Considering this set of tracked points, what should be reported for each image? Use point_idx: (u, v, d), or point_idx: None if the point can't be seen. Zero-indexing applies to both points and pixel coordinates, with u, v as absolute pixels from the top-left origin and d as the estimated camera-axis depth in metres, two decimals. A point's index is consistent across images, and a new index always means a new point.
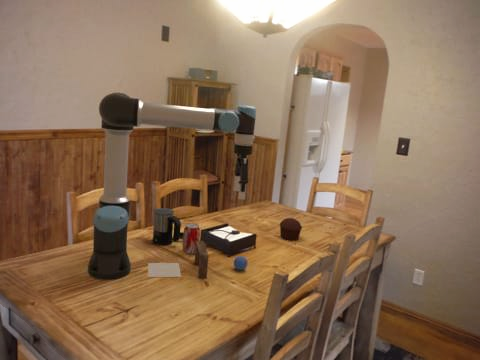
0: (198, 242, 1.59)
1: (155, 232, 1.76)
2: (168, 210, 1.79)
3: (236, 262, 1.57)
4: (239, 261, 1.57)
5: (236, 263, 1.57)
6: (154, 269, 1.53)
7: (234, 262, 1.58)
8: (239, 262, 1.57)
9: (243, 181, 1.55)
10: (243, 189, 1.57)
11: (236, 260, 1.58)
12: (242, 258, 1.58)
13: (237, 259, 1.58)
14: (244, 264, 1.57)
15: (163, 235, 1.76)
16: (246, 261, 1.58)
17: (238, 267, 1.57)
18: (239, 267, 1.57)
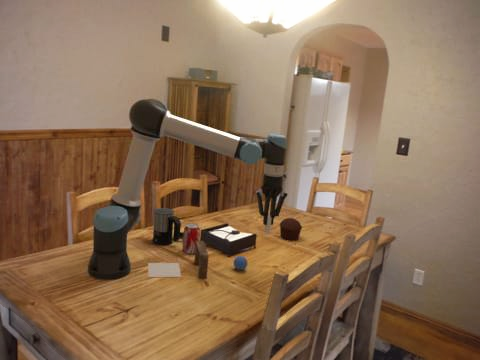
0: (198, 242, 1.59)
1: (155, 232, 1.76)
2: (168, 210, 1.79)
3: (236, 262, 1.57)
4: (239, 261, 1.57)
5: (236, 263, 1.57)
6: (154, 269, 1.53)
7: (234, 262, 1.58)
8: (239, 262, 1.57)
9: (260, 212, 1.57)
10: (263, 222, 1.57)
11: (236, 260, 1.58)
12: (242, 258, 1.58)
13: (237, 259, 1.58)
14: (244, 264, 1.57)
15: (163, 235, 1.76)
16: (246, 261, 1.58)
17: (238, 267, 1.57)
18: (239, 267, 1.57)
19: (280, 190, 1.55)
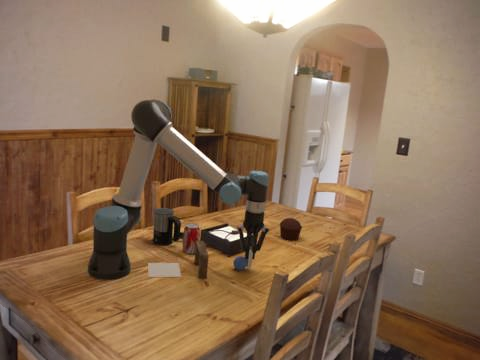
0: (198, 242, 1.59)
1: (155, 232, 1.76)
2: (168, 210, 1.79)
3: (236, 262, 1.57)
4: (238, 261, 1.57)
5: (236, 263, 1.57)
6: (154, 269, 1.53)
7: (234, 262, 1.58)
8: (238, 262, 1.57)
9: (241, 247, 1.59)
10: (245, 256, 1.59)
11: (236, 260, 1.58)
12: (242, 258, 1.58)
13: (237, 259, 1.58)
14: (244, 264, 1.57)
15: (163, 235, 1.76)
16: (246, 261, 1.58)
17: (238, 267, 1.57)
18: (239, 267, 1.57)
19: (261, 226, 1.57)
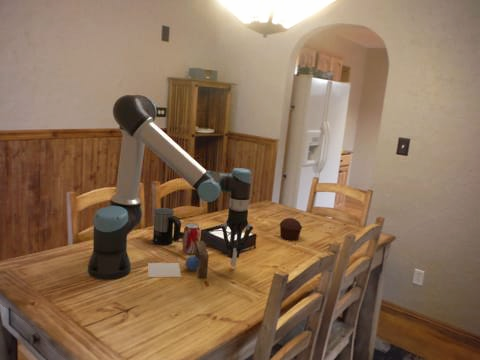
0: (198, 242, 1.59)
1: (155, 232, 1.76)
2: (168, 210, 1.79)
3: (187, 263, 1.53)
4: (190, 262, 1.52)
5: (187, 263, 1.53)
6: (154, 269, 1.53)
7: (186, 263, 1.54)
8: (190, 262, 1.52)
9: (225, 245, 1.57)
10: (229, 255, 1.57)
11: (187, 261, 1.53)
12: (193, 258, 1.53)
13: (188, 260, 1.53)
14: (196, 264, 1.52)
15: (163, 235, 1.76)
16: (198, 261, 1.53)
17: (190, 268, 1.52)
18: (191, 268, 1.52)
19: (245, 224, 1.55)
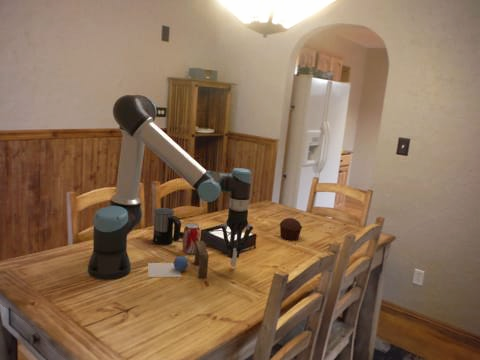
0: (198, 242, 1.59)
1: (155, 232, 1.77)
2: (168, 210, 1.79)
3: (179, 270, 1.53)
4: (177, 269, 1.52)
5: (179, 270, 1.52)
6: (154, 269, 1.53)
7: None
8: (178, 269, 1.52)
9: (225, 245, 1.57)
10: (229, 255, 1.57)
11: None
12: (174, 265, 1.52)
13: (176, 269, 1.53)
14: (179, 264, 1.51)
15: (163, 235, 1.76)
16: (177, 260, 1.51)
17: (184, 268, 1.52)
18: (183, 267, 1.52)
19: (245, 224, 1.55)
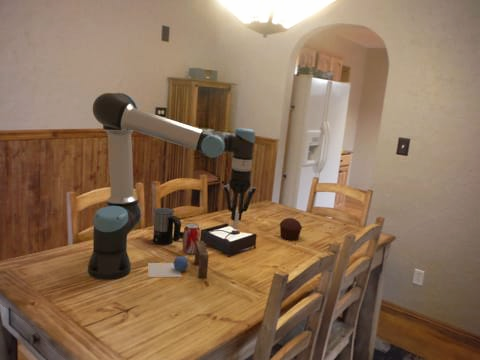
0: (198, 242, 1.59)
1: (155, 232, 1.77)
2: (168, 210, 1.79)
3: (179, 270, 1.53)
4: (177, 269, 1.52)
5: (179, 270, 1.52)
6: (154, 269, 1.53)
7: None
8: (178, 269, 1.52)
9: (227, 207, 1.54)
10: (231, 217, 1.55)
11: None
12: (174, 265, 1.52)
13: (176, 269, 1.53)
14: (179, 264, 1.51)
15: (163, 235, 1.76)
16: (177, 260, 1.51)
17: (184, 268, 1.52)
18: (183, 267, 1.52)
19: (248, 185, 1.52)
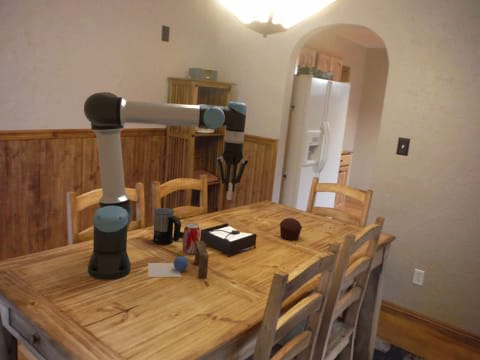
0: (198, 242, 1.59)
1: (155, 232, 1.77)
2: (168, 210, 1.79)
3: (179, 270, 1.53)
4: (177, 269, 1.52)
5: (179, 270, 1.52)
6: (154, 269, 1.53)
7: None
8: (178, 269, 1.52)
9: (221, 179, 1.61)
10: (225, 188, 1.61)
11: None
12: (174, 265, 1.52)
13: (176, 269, 1.53)
14: (179, 264, 1.51)
15: (163, 235, 1.76)
16: (177, 260, 1.51)
17: (184, 268, 1.52)
18: (183, 267, 1.52)
19: (241, 157, 1.59)
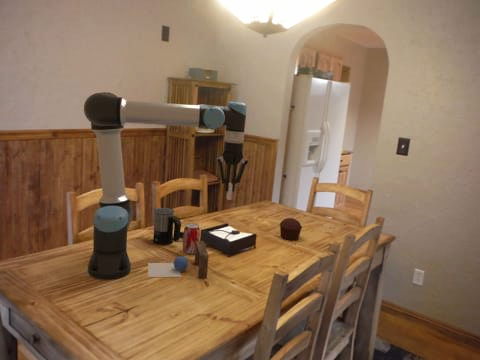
0: (198, 242, 1.59)
1: (155, 232, 1.77)
2: (168, 210, 1.79)
3: (179, 270, 1.53)
4: (177, 269, 1.52)
5: (179, 270, 1.52)
6: (154, 269, 1.53)
7: None
8: (178, 269, 1.52)
9: (221, 179, 1.61)
10: (225, 188, 1.61)
11: None
12: (174, 265, 1.52)
13: (176, 269, 1.53)
14: (179, 264, 1.51)
15: (163, 235, 1.76)
16: (177, 260, 1.51)
17: (184, 268, 1.52)
18: (183, 267, 1.52)
19: (241, 157, 1.59)
